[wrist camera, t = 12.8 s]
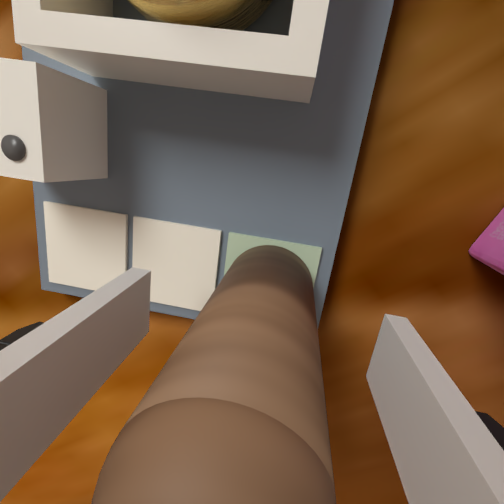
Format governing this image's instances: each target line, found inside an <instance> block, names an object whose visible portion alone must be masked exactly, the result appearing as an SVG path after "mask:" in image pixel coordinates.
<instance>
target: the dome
mask: <svg viewBox="0 0 504 504" xmlns="http://www.w3.org/2000/svg"><path fill="white" fill-rule="evenodd" d="M128 1H129V2H130V3H131V4H132V5H133V6H134V7H135V8H136V9H137V10H138V11H139V12H140V13H141V14H142V15H143V16H144V17H145V18H146V19H147V20H148V21H152V22H162V23H171V24H181V25H191V26H200V27H210V28H219V29H229V30H239V31H242V30H244V29H245V28H247V27H248V26H249V25H251V24H252V23H253V22H254V21H255V20H257V19H258V18H259V17H260V15H261V14H262V13H263V12H264V11H265V10H266V9H267V8H268V6H269V5H270V3H271V2H272V1H273V0H128Z"/></svg>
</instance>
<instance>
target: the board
mask: <svg viewBox="0 0 504 504" xmlns="http://www.w3.org/2000/svg"><path fill="white" fill-rule="evenodd" d="M293 2H294V0H273V1H272V2H271V3H270V5H269V6H268V8H267V9H266V10H265V11H264V12H263V13H262V14H261V15H260V17H259V18H258V19H257V20H255V21H254V22H253V23H252V24H251V25H249V26H248V27H247V28H245V29H244V30H242V31H248V32H258V33H267V34H277V35H287V36H289V29H290V22H291V15H292V9H293ZM393 3H394V0H329V5H328V11H327V16H326V22H325V27H324V33H323V39H322V44H321V50H320V55H319V61H318V67H317V72H316V78H315V82H314V86H313V90H312V95H311V99H310V103H302V102H294V101H286V100H278V99H270V98H262V97H254V96H246V95H238V94H230V93H222V92H214V91H206V90H198V89H190V88H182V87H174V86H166V85H158V84H150V83H142V82H133V81H125V80H117V79H109V78H101V77H93V76H91V75H88V74H86V73H84V72H81V71H79V70H77V69H75V68H72V67H70V66H68V65H65V64H63V63H61V62H59V61H56V60H54V59H52V58H49V57H47V56H45V55H43V54H40V53H38V52H36V51H33V50H31V49H29V48H26V47H24V46H22V55H23V60H24V61H32V62H37V63H40V64H42V65H45V66H47V67H50V68H52V69H55V70H57V71H60V72H62V73H65V74H67V75H70V76H72V77H75V78H77V79H80V80H82V81H85V82H87V83H90V84H93V85H95V86H98V87H100V88H103V89H105V90H107V148H108V178H103V179H89V180H75V181H61V182H47V183H43V182H37V181H33V190H34V202H35V215H36V227H37V239H38V252H39V264H40V276H41V288H42V289H43V290H48V291H53V292H58V293H63V294H68V295H73V296H78V297H83V298H85V297H86V296H88V295H89V294H91V293H92V292H94V291H96V290H97V289H99V288H100V287H102V286H104V285H105V284H107V283H108V282H110V281H111V280H113V279H115V278H116V277H118V276H119V275H121V274H123V273H124V272H126V271H127V270H129V269H130V268H132V267H134V268H140V269H145V270H151V286H150V311H154V312H159V313H164V314H170V315H175V316H180V317H185V318H190V319H196V317H197V316H198V314H199V313H200V311H201V310H202V308H203V307H204V305H205V304H206V302H207V301H208V299H209V298H210V296H211V295H212V293H213V292H214V290H215V289H216V287H217V286H218V284H219V283H220V281H221V280H222V278H223V277H224V275H225V274H226V272H227V271H228V269H229V268H230V266H231V265H232V263H233V262H234V261H235V259H236V258H237V257H238V256H239V255H241V254H242V253H243V252H245V251H246V250H248V249H251V248H253V247H256V246H261V245H274V246H279V247H283V248H285V249H288V250H290V251H292V252H293V253H295V254H296V255H297V256H298V257H300V258H301V259H302V261H303V262H304V263H305V264H306V266H307V267H308V269H309V272H310V274H311V277H312V282H313V291H314V301H315V310H316V319H317V329H318V326H319V322H320V318H321V313H322V309H323V305H324V300H325V296H326V292H327V287H328V283H329V279H330V274H331V270H332V266H333V262H334V257H335V253H336V249H337V244H338V240H339V236H340V231H341V227H342V223H343V218H344V214H345V210H346V205H347V201H348V197H349V193H350V188H351V184H352V180H353V175H354V171H355V167H356V162H357V158H358V154H359V149H360V145H361V141H362V137H363V132H364V128H365V124H366V119H367V115H368V111H369V106H370V102H371V98H372V93H373V89H374V85H375V81H376V76H377V72H378V68H379V63H380V59H381V55H382V50H383V46H384V42H385V37H386V33H387V29H388V24H389V20H390V16H391V12H392V7H393ZM113 17H114V18H123V19H133V20H143V21H148V20H147V19H146V18H145V17H144V16H143V15H142V14H141V13H140V12H139V11H138V10H137V9H136V8H135V7H134V6H133V5H132V4H131V3H130V2H129V1H128V0H113Z"/></svg>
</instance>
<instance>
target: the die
mask: <svg viewBox="0 0 504 504" xmlns="http://www.w3.org/2000/svg"><path fill="white" fill-rule="evenodd" d="M0 176H6V177H12V178H18V179H24V180H31V181H37V182H43V183H47V182H61V181H75V180H89V179H103V178H108V148H107V90H105V89H103V88H100V87H98V86H95V85H93V84H90V83H87V82H85V81H82V80H80V79H77V78H75V77H72V76H70V75H67V74H65V73H62V72H60V71H57V70H55V69H52V68H50V67H47V66H45V65H42V64H40V63H37V62H32V61H24V60H15V59H7V58H0Z"/></svg>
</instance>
